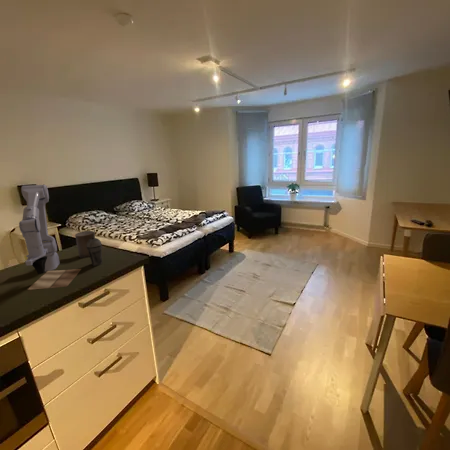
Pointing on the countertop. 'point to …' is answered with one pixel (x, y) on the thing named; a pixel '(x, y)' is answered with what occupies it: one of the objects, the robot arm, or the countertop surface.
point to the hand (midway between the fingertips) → (41, 273)
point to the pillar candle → (83, 243)
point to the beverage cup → (95, 250)
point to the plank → (46, 280)
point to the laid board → (66, 278)
